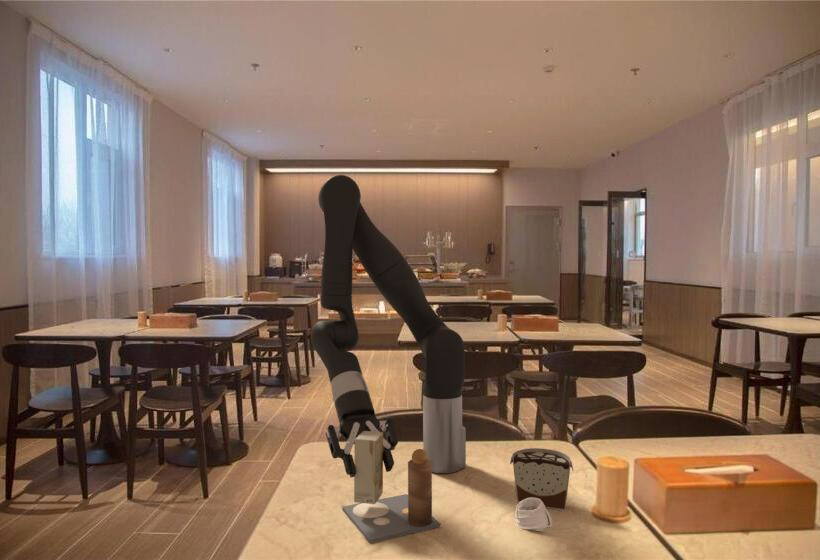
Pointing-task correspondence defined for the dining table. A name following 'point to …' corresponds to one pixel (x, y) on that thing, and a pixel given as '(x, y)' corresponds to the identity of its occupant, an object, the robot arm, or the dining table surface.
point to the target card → (384, 518)
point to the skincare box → (368, 467)
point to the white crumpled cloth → (532, 514)
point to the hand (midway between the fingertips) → (371, 472)
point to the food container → (542, 476)
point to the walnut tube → (420, 489)
